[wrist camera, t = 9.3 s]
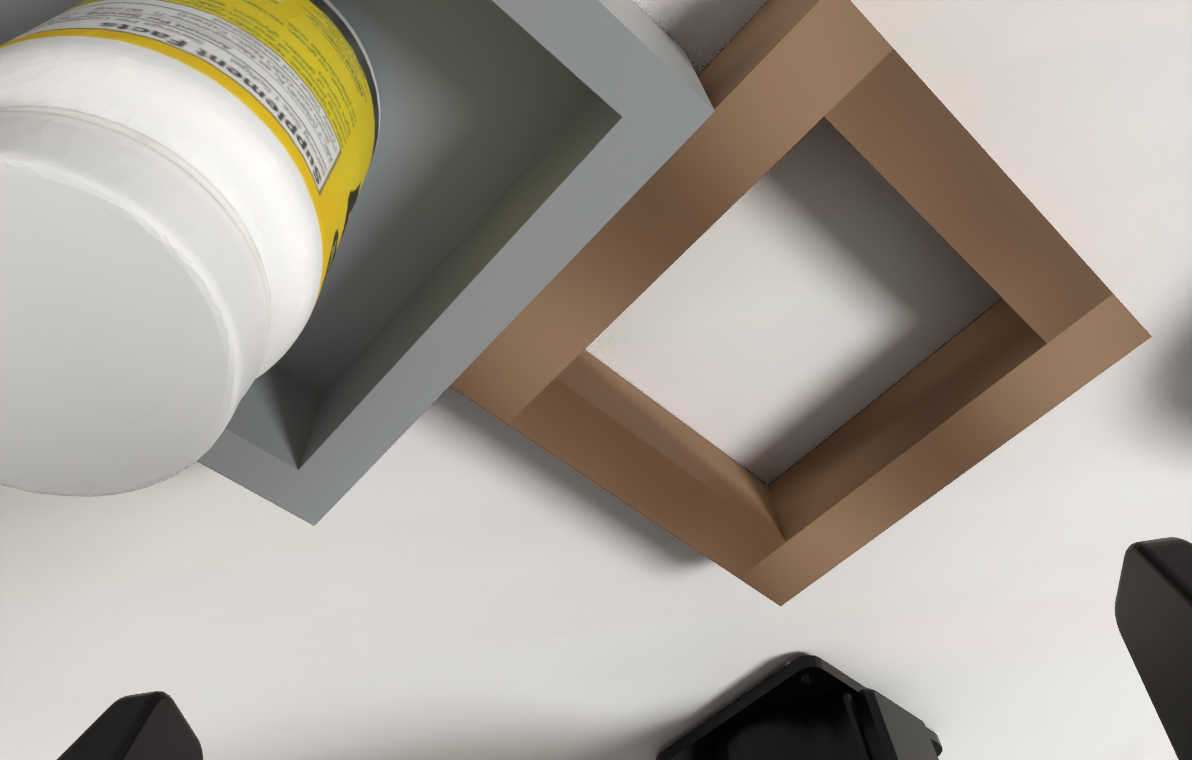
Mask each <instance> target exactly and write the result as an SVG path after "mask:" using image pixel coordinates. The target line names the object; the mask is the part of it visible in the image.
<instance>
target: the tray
mask: <svg viewBox="0 0 1192 760" xmlns="http://www.w3.org/2000/svg"><path fill="white" fill-rule="evenodd" d="M83 1H85V0H0V45H2V44H4V43H6V42H8V41H10V40H12V39H14V38H16V37H18V36H20V35H22V34H24V33H26V32H28V31H29V30H31V29H33V28H35V27H37V26H39V25H41V24H43V23H45V22H47V21H49V20H51V19H52V18H54V17H56V16H58V15H59V14H61V13H63V12H65V11H67V10H69V9H70V8H72V7H74V6H76V5H78V4H80V3H81V2H83ZM329 1H330V2H331V3H332V4H333V5H334V6H335V7H336V8H337V10H338V11H339V12H340V13H341V14H342V15H343V16H344V18H345V19H346V20H347V21H348V23H349V24H350V26H351V27H352V28H353V30H354V31H355V33H356V34H357V36H358V38H359V39H360V41H361V43H362V45H363V47H364V49H365V51H366V53H367V55H368V58H369V60H370V63H371V65H372V68H373V71H374V75H375V78H376V82H377V87H378V93H379V100H380V130H379V136H378V142H377V145H376V149H375V152H374V155H373V158H372V161H371V164H370V166H369V169H368V171H367V174H366V177H365V179H364V182H363V184H362V187H361V189H360V192H359V194H358V197H357V199H356V202H355V204H354V207H353V209H352V212H351V214H350V217H349V220H348V222H347V225H346V227H345V231H344V233H343V236H342V238H341V240H340V242H339V244H338V247H337V250H336V254H335V258H334V260H333V263H332V265H331V267H330V270H329V272H328V274H327V276H326V279H325V281H324V284H323V286H322V289H321V291H320V294H319V296H318V299H317V302H316V304H315V306H314V308H313V311H312V313H311V315H310V317H309V320H308V321H307V323H306V325H305V327H304V328H303V330H302V332H301V333H300V335H299V336H298V338H297V339H296V341H295V342H294V343H293V344H292V346H291V347H290V348H289V350H288V351H287V352H286V353H285V354H284V355H283V356H282V357H281V358H280V359H279V360H278V361H277V362H276V363H275V364H274V365H273V366H272V367H271V368H270V369H268V370H267V371H266V372H265V373H263V374H262V375H261V376H259V377H258V378H256V379H255V380H254V382H253V383H252V385H251V386H250V388H249V389H248V391H247V392H246V394H245V395H244V396H243V397H242V399H241V400H240V402H239V404H238V406H237V408H236V410H235V412H234V414H233V416H232V418H231V420H230V421H229V423H228V424H227V426H226V428H225V429H224V431H223V432H222V434H221V435H220V437H219V438H218V439H217V440H216V442H215V443H214V444H213V446H212V447H211V448H210V449H209V450H208V451H207V452H206V453H205V454H204V455H202V456H201V457H200V458H199V459H198V460H197V462H199V463H201V464H203V465H205V466H207V467H208V468H210V469H212V470H214V471H216V472H217V473H219V474H221V475H223V476H225V477H227V478H228V479H230V480H232V481H234V482H236V483H237V484H239V485H241V486H243V487H245V488H246V489H248V490H250V491H252V492H254V493H256V494H257V495H259V496H261V497H263V498H265V499H266V500H268V501H270V502H272V503H274V504H275V505H277V506H279V507H281V508H283V509H285V510H286V511H288V512H290V513H292V514H294V515H295V516H297V517H299V518H301V519H303V520H305V521H306V522H308V523H310V524H312V525H314V526H315V525H316V524H317V523H318V522H319V521H320V520H321V519H322V517H323V516H324V515H325V514H326V513H327V512H328V511H329V510H330V509H331V508H332V507H333V506H334V505H335V504H336V503H337V502H338V501H339V500H340V499H341V498H342V497H343V496H344V495H345V494H346V493H347V492H348V491H349V490H350V488H351V487H352V486H353V485H354V484H355V483H356V482H357V481H358V480H359V479H360V478H361V477H362V476H363V475H364V474H365V473H366V472H367V471H368V470H369V469H370V468H371V467H372V466H373V465H374V464H375V463H376V462H377V461H378V460H379V458H380V457H381V456H382V455H383V454H384V453H385V452H386V451H387V450H388V449H389V448H390V447H391V446H392V445H393V444H394V443H395V442H396V441H397V440H398V439H399V438H400V437H401V436H402V435H403V434H404V433H405V432H406V431H407V429H408V428H409V427H410V426H411V425H412V424H413V423H414V422H415V421H416V420H417V419H418V418H419V417H420V416H421V415H422V414H423V413H424V412H425V411H426V410H427V409H428V408H429V407H430V406H431V405H432V404H433V403H434V402H435V400H436V399H437V398H438V397H439V396H440V395H441V394H442V393H443V392H444V391H445V390H446V389H447V388H448V387H449V386H450V385H451V384H452V383H453V382H454V381H455V380H456V379H457V378H458V377H459V376H460V375H461V374H462V373H463V371H464V370H465V369H466V368H467V367H468V366H469V365H470V364H471V363H472V362H473V361H474V360H475V359H476V358H477V357H478V356H479V355H480V354H481V353H482V352H483V351H484V350H485V349H486V348H487V347H488V346H489V345H490V344H491V342H492V341H493V340H494V339H495V338H496V337H497V336H498V335H499V334H500V333H501V332H502V331H503V330H504V329H505V328H506V327H507V326H508V325H509V324H510V323H511V322H512V321H513V320H514V319H515V318H516V317H517V316H518V315H519V313H520V312H521V311H522V310H523V309H524V308H525V307H526V306H527V305H528V304H529V303H530V302H531V301H532V300H533V299H534V298H535V297H536V296H537V295H538V294H539V293H540V292H541V291H542V290H543V289H544V288H545V287H546V286H547V284H548V283H549V282H550V281H551V280H552V279H553V278H554V277H555V276H556V275H557V274H558V273H559V272H560V271H561V270H562V269H563V268H564V267H565V266H566V265H567V264H568V263H569V262H570V261H571V260H572V259H573V258H574V257H575V255H576V254H577V253H578V252H579V251H580V250H581V249H582V248H583V247H584V246H585V245H586V244H587V243H588V242H589V241H590V240H591V239H592V238H593V237H594V236H595V235H596V234H597V233H598V232H599V231H600V230H601V229H602V228H603V226H604V225H605V224H606V223H607V222H608V221H609V220H610V219H611V218H612V217H613V216H614V215H615V214H616V213H617V212H618V211H619V210H620V209H621V208H622V207H623V206H624V205H625V204H626V203H627V202H628V201H629V200H630V199H631V198H632V196H633V195H634V194H635V193H636V192H637V191H638V190H639V189H640V188H641V187H642V186H643V185H644V184H645V183H646V182H647V181H648V180H649V179H650V178H651V177H652V176H653V175H654V174H655V173H656V172H657V171H658V170H659V169H660V167H661V166H662V165H663V164H664V163H665V162H666V161H667V160H668V159H669V158H670V157H671V156H672V155H673V154H674V153H675V152H676V151H677V150H678V149H679V148H680V147H681V146H682V145H683V144H684V143H685V142H686V141H687V140H688V138H689V137H690V136H691V135H692V134H693V133H694V132H695V131H696V130H697V129H698V128H699V127H700V126H701V125H702V124H703V123H704V122H705V121H706V120H707V119H708V118H709V117H710V116H711V115H712V114H713V113H714V112H715V111H714V109H713V107H712V105H711V103H710V101H709V99H708V97H707V94H706V92H705V90H704V88H703V86H702V84H701V82H700V80H699V78H698V76H697V74H696V72H695V70H694V68H693V66H692V64H691V62H690V60H689V58H688V56H687V54H686V52H685V51H684V50H683V49H682V48H681V47H680V46H679V45H678V44H677V43H676V42H675V41H674V40H673V39H672V38H671V37H670V36H669V35H668V34H667V33H666V32H665V31H664V30H663V29H661V28H660V27H659V26H658V25H657V24H656V23H655V22H654V21H653V20H652V19H651V18H650V17H649V16H648V15H647V14H646V13H645V12H644V11H643V10H642V9H641V8H640V7H639V6H638V5H637V4H636V3H635V2H634V1H633V0H329Z"/></svg>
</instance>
